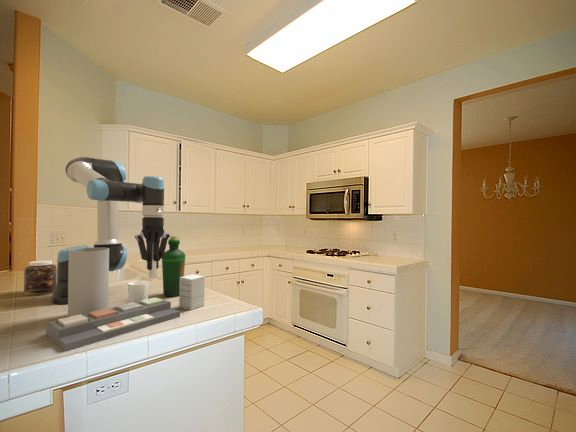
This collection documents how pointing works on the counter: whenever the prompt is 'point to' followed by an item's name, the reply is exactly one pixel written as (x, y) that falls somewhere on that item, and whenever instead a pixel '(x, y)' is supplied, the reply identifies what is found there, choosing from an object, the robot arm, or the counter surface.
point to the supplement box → (191, 292)
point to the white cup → (138, 291)
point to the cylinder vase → (88, 280)
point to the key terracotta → (102, 313)
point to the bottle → (173, 268)
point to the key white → (72, 320)
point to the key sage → (151, 301)
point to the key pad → (109, 325)
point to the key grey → (128, 307)
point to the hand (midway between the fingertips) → (152, 277)
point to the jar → (40, 278)
